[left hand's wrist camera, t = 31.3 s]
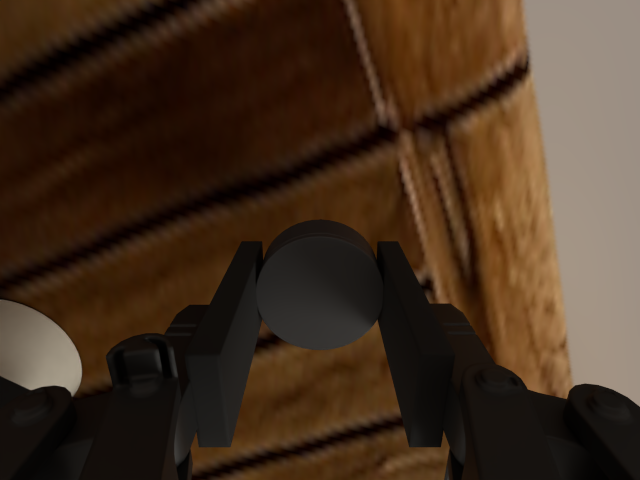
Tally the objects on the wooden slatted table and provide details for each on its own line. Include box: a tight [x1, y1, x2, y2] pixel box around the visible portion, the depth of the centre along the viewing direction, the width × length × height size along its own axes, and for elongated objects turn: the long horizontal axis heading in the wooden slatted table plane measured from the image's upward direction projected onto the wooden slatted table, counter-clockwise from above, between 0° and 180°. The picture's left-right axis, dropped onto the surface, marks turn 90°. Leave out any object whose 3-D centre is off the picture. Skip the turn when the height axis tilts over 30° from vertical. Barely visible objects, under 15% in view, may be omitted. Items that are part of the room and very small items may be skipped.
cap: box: [256, 220, 384, 350], centre depth 14 cm, size 4×4×2 cm
